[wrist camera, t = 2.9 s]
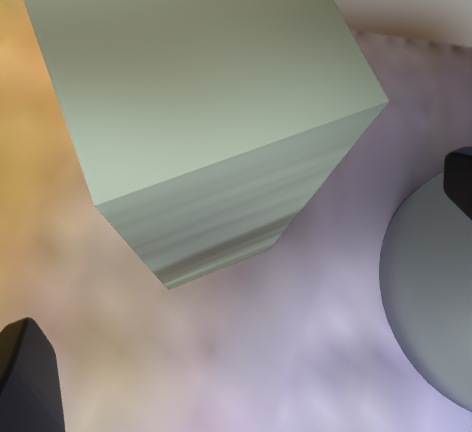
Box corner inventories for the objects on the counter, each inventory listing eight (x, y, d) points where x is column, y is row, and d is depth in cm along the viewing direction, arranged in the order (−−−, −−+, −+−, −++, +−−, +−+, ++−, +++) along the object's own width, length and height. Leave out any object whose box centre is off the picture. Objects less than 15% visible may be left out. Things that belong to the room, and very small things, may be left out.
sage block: (269, 249, 19) (389, 101, 7) (168, 289, 18) (94, 205, 6) (229, 156, 20) (268, -117, 8) (131, 191, 20) (5, -54, 7)
